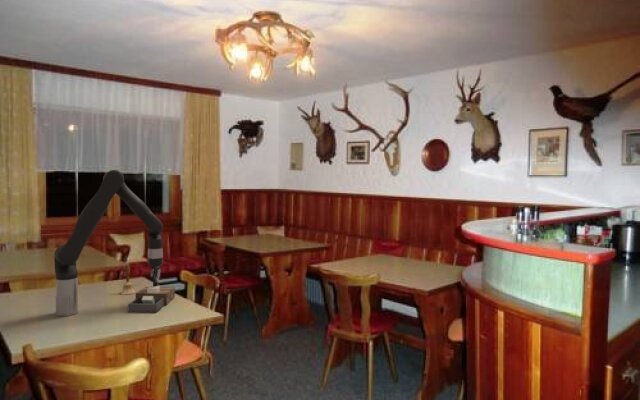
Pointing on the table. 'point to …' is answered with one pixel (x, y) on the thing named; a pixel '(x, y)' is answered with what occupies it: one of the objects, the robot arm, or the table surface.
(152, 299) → the tile near
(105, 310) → the table surface
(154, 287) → the tile far
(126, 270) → the hand bell
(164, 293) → the drawer box
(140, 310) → the box
